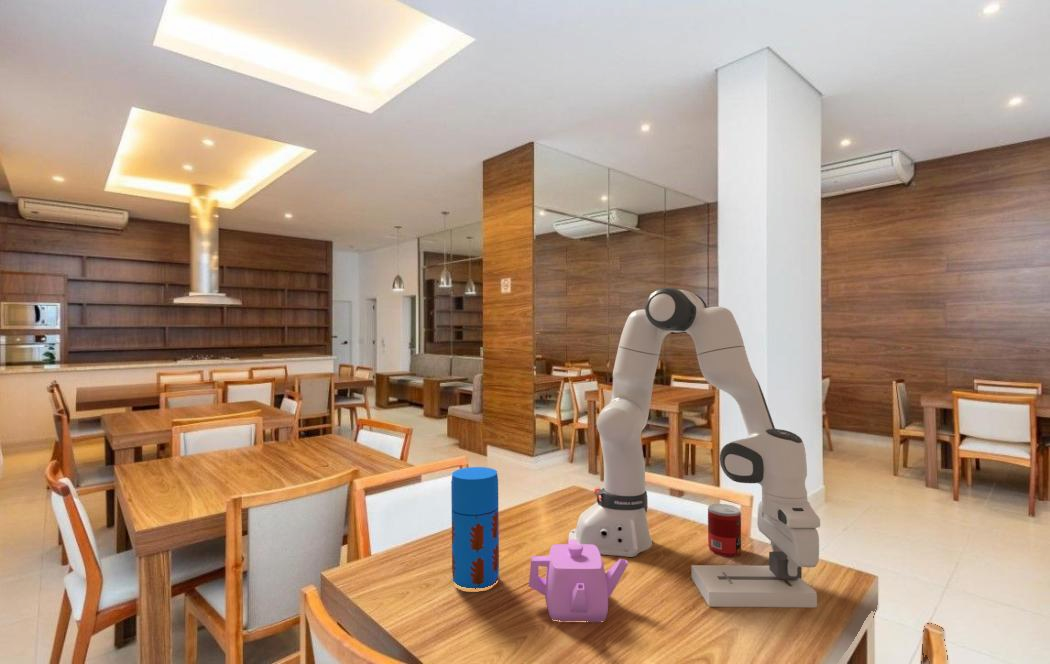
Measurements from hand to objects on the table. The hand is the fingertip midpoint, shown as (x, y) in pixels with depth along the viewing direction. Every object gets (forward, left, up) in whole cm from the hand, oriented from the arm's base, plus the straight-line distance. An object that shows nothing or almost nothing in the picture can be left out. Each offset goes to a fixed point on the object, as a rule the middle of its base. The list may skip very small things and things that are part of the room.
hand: (785, 568), depth 108 cm
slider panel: (-8, 0, -5) cm, 9 cm away
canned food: (-6, +21, -5) cm, 22 cm away
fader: (0, 0, -2) cm, 2 cm away
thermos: (-69, +4, -5) cm, 69 cm away
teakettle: (-46, -6, -6) cm, 46 cm away
